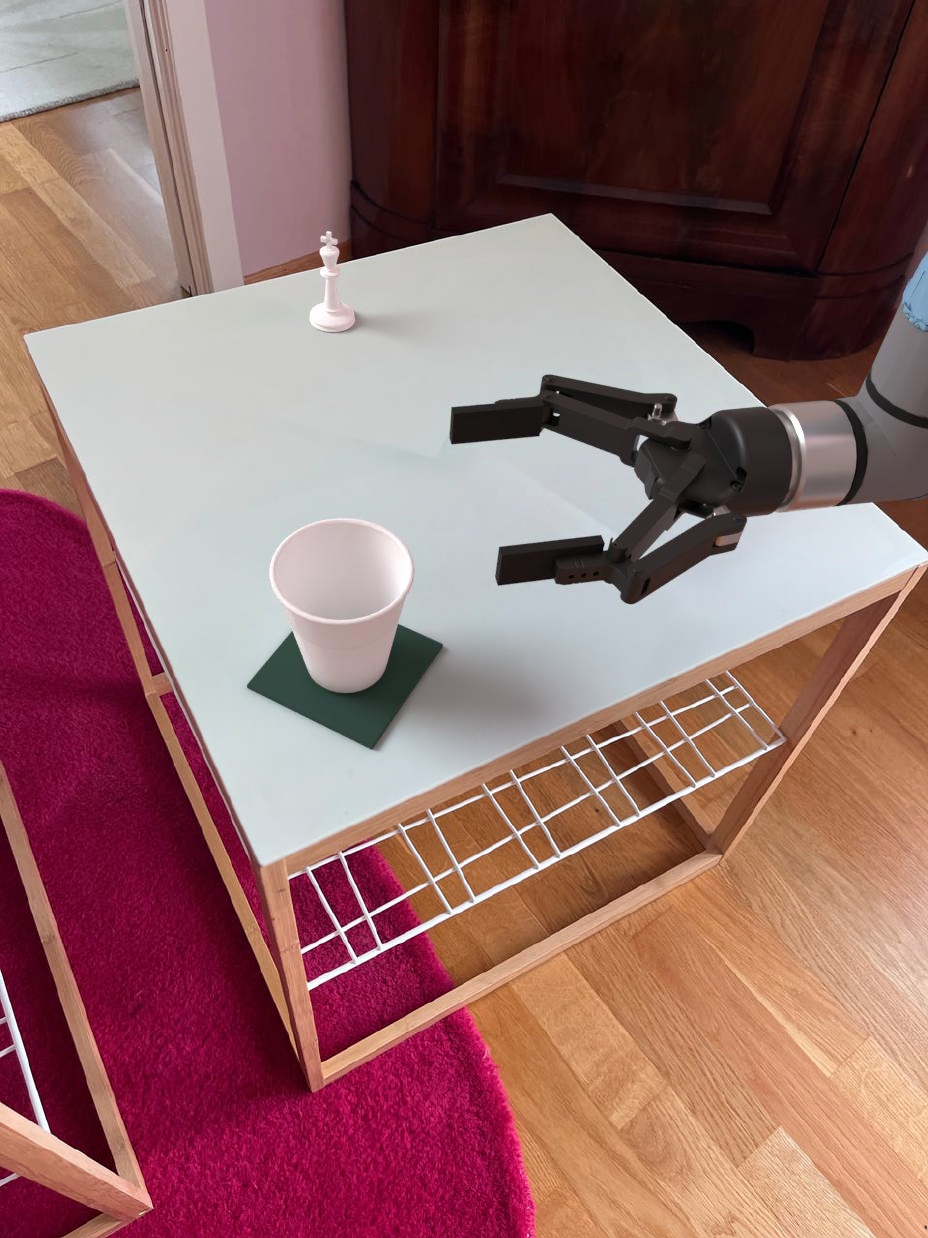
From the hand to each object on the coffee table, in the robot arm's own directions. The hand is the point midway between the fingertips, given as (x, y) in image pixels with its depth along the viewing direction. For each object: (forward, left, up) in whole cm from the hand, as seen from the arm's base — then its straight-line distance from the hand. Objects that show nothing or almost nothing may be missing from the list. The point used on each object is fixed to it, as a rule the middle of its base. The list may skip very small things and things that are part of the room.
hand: (472, 491), depth 62 cm
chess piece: (+33, -34, -17) cm, 50 cm away
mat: (+7, +6, -17) cm, 19 cm away
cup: (+7, +6, -17) cm, 19 cm away
